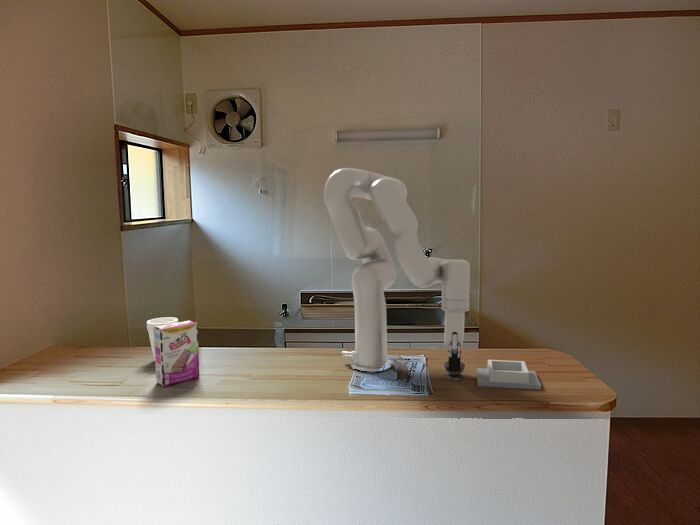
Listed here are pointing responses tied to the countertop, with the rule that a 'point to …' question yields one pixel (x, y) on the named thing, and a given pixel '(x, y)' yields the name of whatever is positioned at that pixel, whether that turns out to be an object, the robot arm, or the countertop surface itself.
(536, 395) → the countertop surface
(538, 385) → the holder
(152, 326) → the foam cup
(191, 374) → the candy bar box
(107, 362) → the countertop surface
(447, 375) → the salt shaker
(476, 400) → the countertop surface
